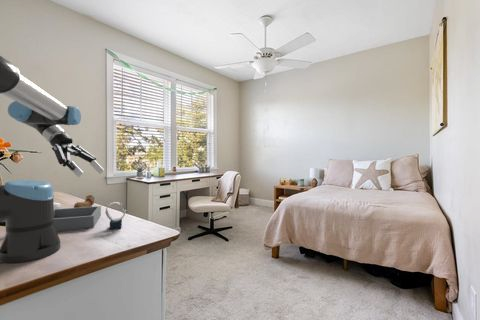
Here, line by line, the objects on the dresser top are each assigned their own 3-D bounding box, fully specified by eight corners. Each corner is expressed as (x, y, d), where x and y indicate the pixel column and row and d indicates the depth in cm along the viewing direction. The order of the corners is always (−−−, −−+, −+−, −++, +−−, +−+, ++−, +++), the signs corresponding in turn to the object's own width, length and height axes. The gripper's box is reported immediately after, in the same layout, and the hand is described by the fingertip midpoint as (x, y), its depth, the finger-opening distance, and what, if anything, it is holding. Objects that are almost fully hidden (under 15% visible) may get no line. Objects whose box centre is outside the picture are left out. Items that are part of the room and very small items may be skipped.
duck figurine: (61, 216, 126) (61, 198, 131) (61, 210, 121) (61, 191, 126) (31, 220, 119) (32, 200, 124) (30, 214, 114) (31, 193, 119)
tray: (93, 227, 103) (93, 216, 103) (36, 233, 95) (35, 220, 95) (100, 215, 121) (100, 206, 121) (53, 219, 114) (52, 209, 114)
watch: (126, 228, 103) (126, 203, 102) (104, 230, 100) (104, 204, 99) (126, 224, 108) (126, 200, 107) (106, 226, 105) (106, 201, 104)
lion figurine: (87, 209, 133) (87, 194, 132) (97, 210, 133) (97, 194, 132) (68, 217, 118) (67, 199, 118) (78, 217, 118) (78, 199, 118)
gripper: (73, 145, 116) (103, 176, 116) (25, 143, 91) (63, 183, 91) (84, 134, 116) (114, 165, 116) (38, 129, 91) (77, 169, 91)
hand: (92, 173), depth 103 cm, fingers open, 13 cm apart
